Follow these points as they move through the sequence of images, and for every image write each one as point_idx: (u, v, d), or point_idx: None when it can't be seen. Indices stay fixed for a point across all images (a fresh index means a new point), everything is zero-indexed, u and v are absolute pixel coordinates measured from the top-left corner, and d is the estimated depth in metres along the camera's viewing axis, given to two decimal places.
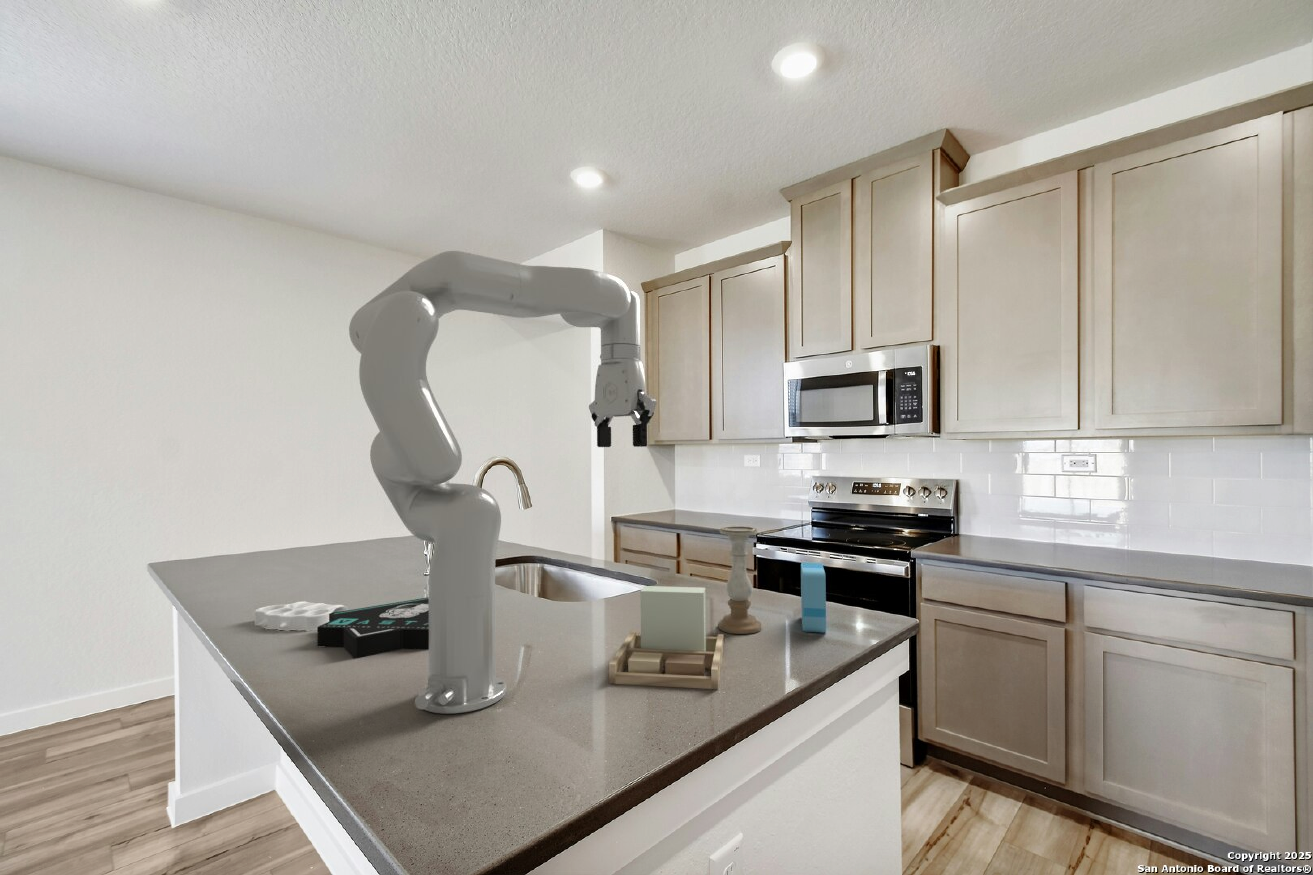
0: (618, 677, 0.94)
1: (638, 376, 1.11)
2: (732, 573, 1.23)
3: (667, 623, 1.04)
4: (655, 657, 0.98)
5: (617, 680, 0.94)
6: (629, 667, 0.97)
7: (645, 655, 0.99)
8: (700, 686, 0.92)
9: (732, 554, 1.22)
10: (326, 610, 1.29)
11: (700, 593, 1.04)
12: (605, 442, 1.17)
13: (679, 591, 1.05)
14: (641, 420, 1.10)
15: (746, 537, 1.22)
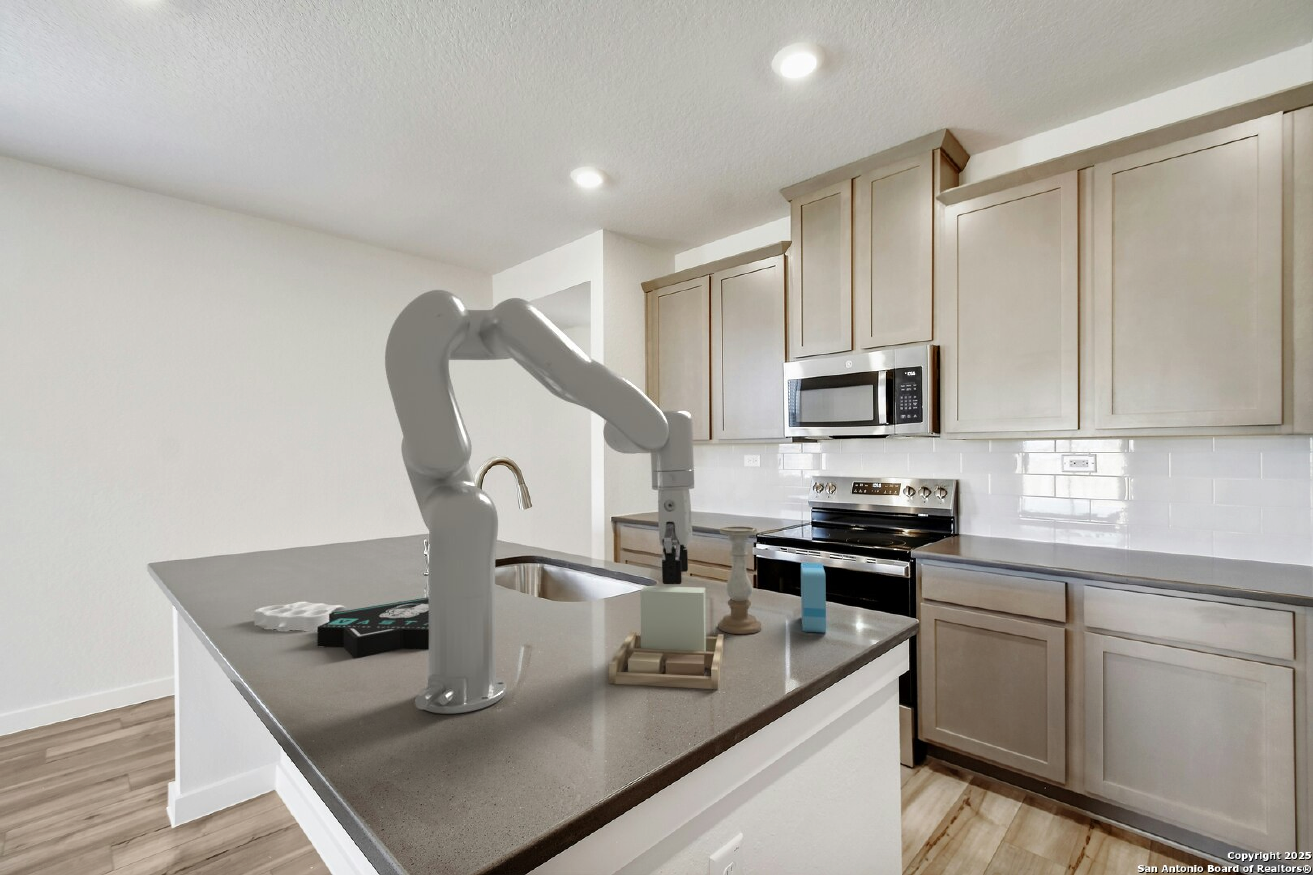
0: (618, 677, 0.94)
1: None
2: (732, 573, 1.23)
3: (667, 623, 1.04)
4: (655, 657, 0.98)
5: (617, 680, 0.94)
6: (629, 667, 0.97)
7: (645, 655, 0.99)
8: (700, 686, 0.92)
9: (732, 554, 1.22)
10: (325, 610, 1.29)
11: (700, 593, 1.04)
12: None
13: (679, 591, 1.05)
14: None
15: (746, 537, 1.22)
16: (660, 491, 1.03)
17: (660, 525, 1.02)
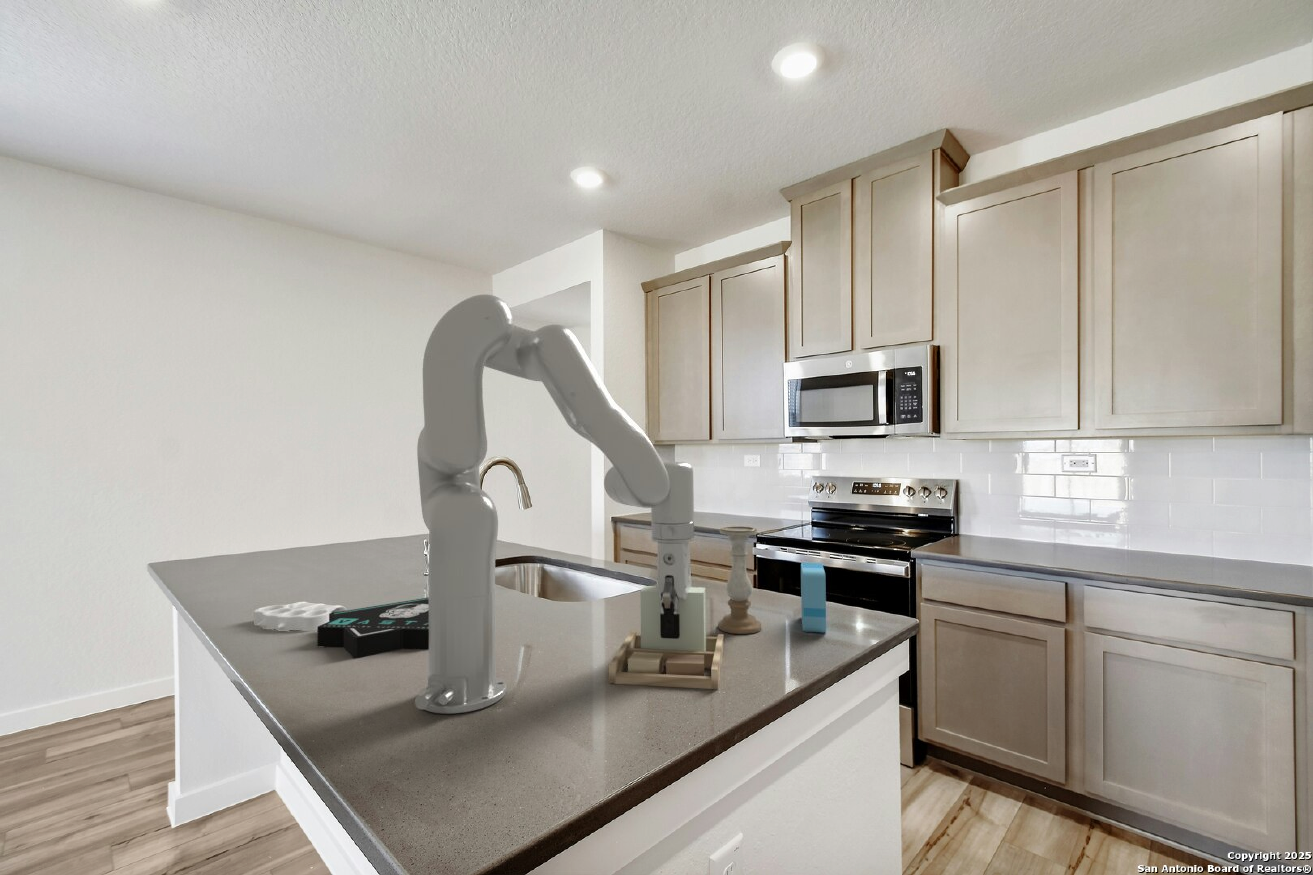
0: (618, 677, 0.94)
1: None
2: (732, 573, 1.23)
3: None
4: (655, 657, 0.98)
5: (617, 680, 0.94)
6: (629, 667, 0.97)
7: (645, 655, 0.99)
8: (700, 686, 0.92)
9: (732, 554, 1.22)
10: (324, 611, 1.29)
11: (700, 593, 1.04)
12: None
13: None
14: None
15: (746, 537, 1.22)
16: (660, 544, 1.03)
17: (659, 578, 1.02)
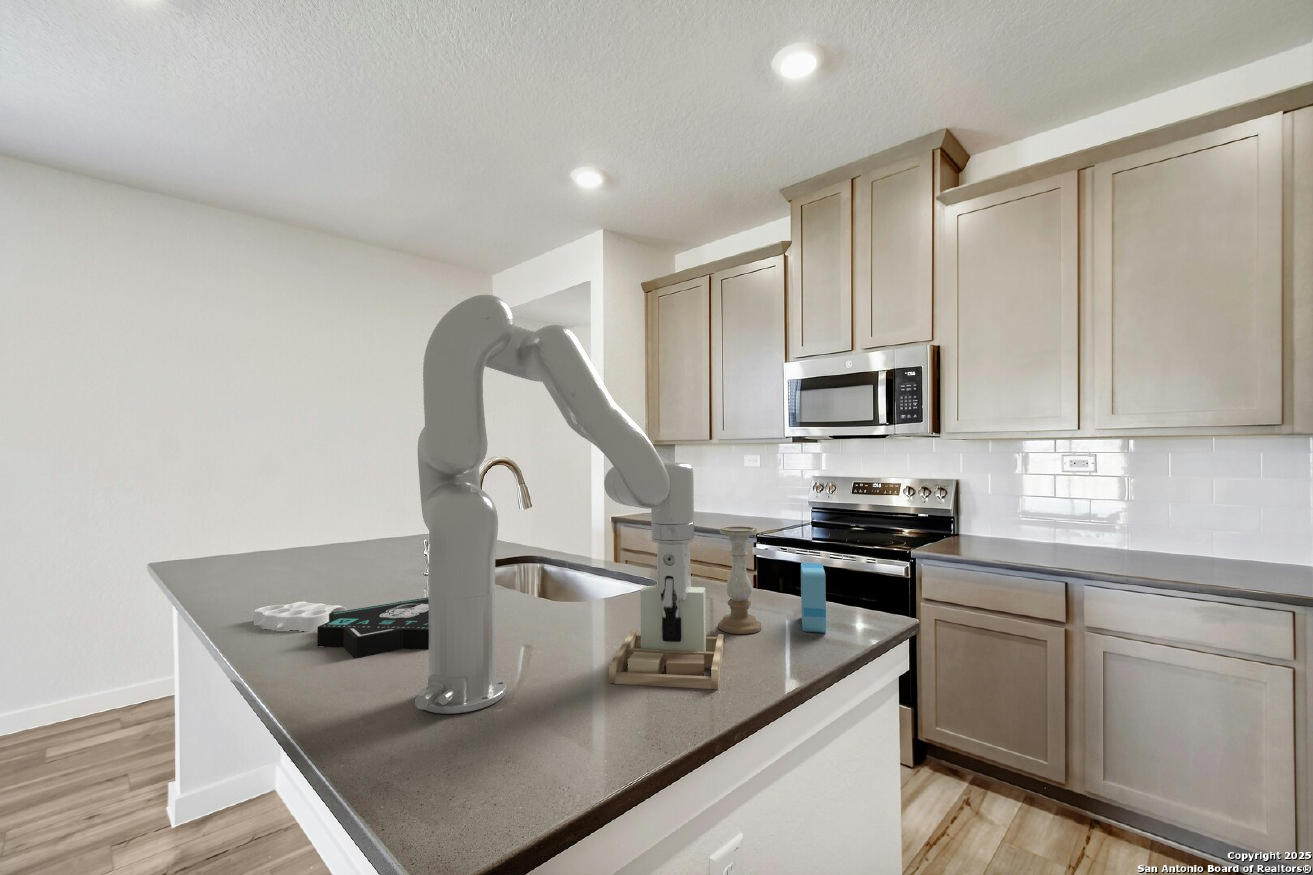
0: (618, 677, 0.94)
1: None
2: (732, 573, 1.23)
3: None
4: (655, 657, 0.98)
5: (617, 680, 0.94)
6: (629, 667, 0.97)
7: (645, 655, 0.99)
8: (700, 686, 0.92)
9: (732, 554, 1.22)
10: (323, 611, 1.29)
11: (700, 593, 1.04)
12: None
13: None
14: None
15: (746, 537, 1.22)
16: (660, 544, 1.03)
17: (659, 579, 1.02)
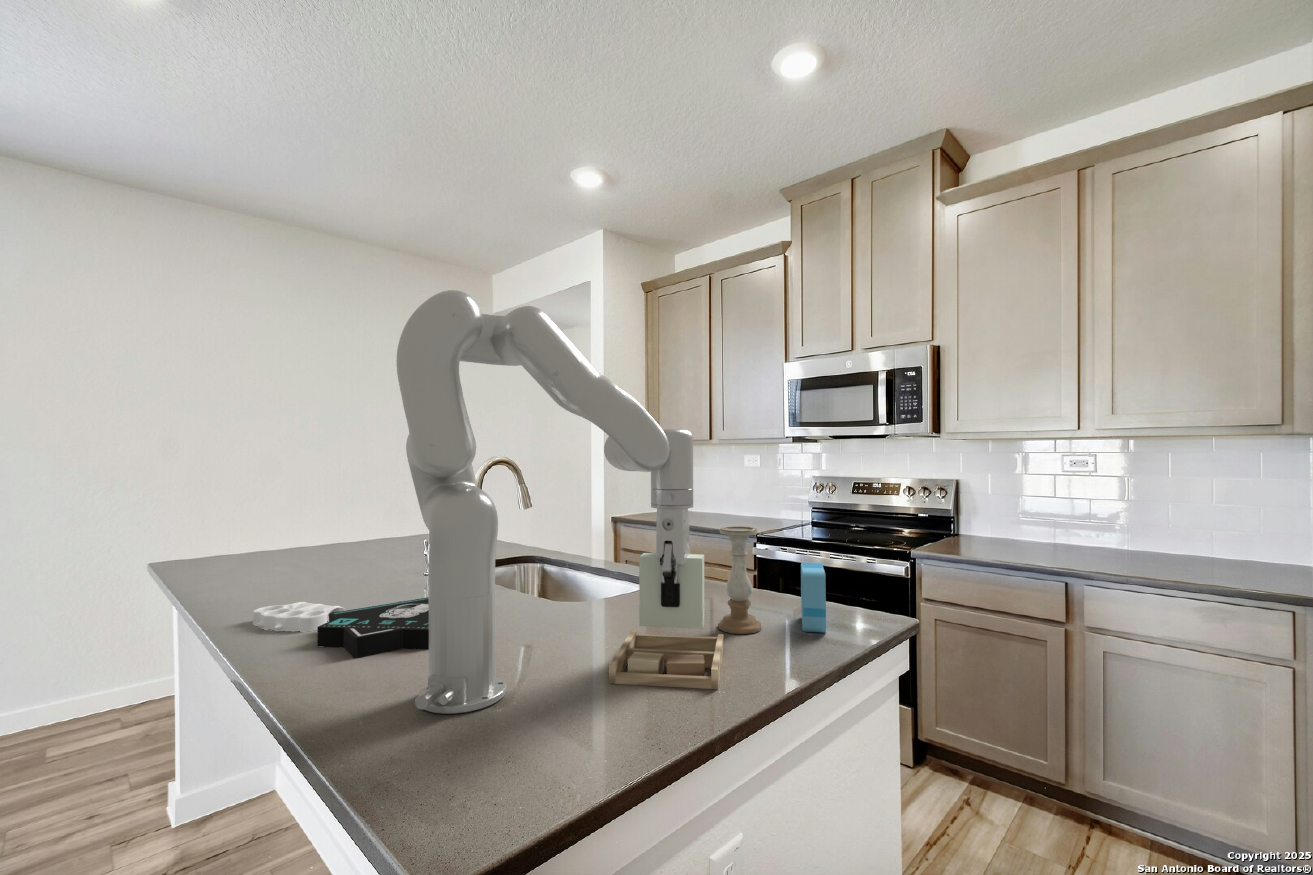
0: (618, 677, 0.94)
1: None
2: (732, 573, 1.23)
3: None
4: (655, 657, 0.98)
5: (617, 680, 0.94)
6: (628, 667, 0.97)
7: (645, 655, 0.99)
8: (700, 686, 0.92)
9: (732, 554, 1.22)
10: (322, 611, 1.28)
11: (699, 559, 1.04)
12: None
13: None
14: None
15: (746, 537, 1.22)
16: (659, 509, 1.03)
17: (658, 544, 1.02)
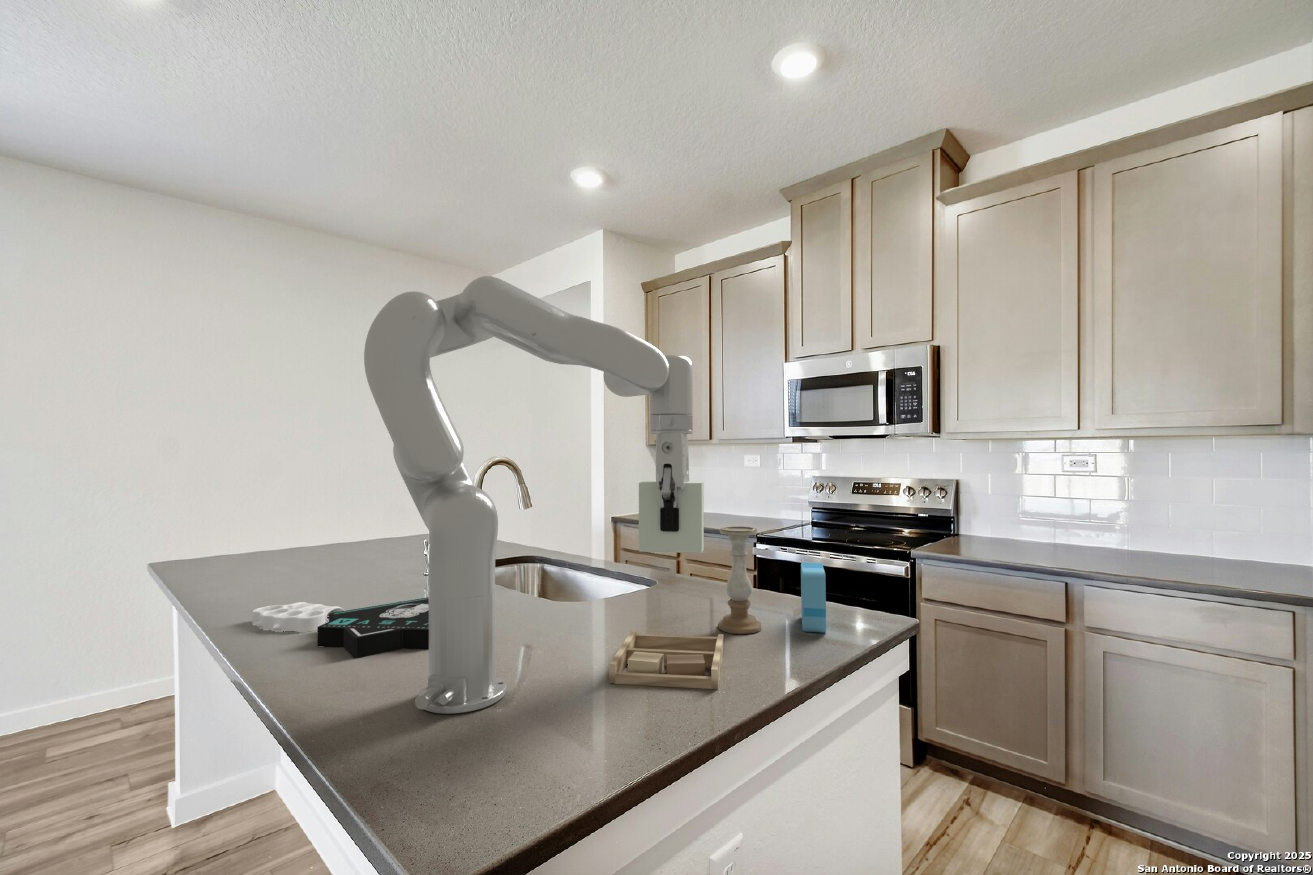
0: (618, 677, 0.94)
1: None
2: (732, 573, 1.23)
3: None
4: (655, 657, 0.98)
5: (617, 680, 0.94)
6: (628, 666, 0.97)
7: (645, 655, 0.99)
8: (700, 686, 0.92)
9: (732, 554, 1.22)
10: (321, 612, 1.28)
11: (698, 483, 1.04)
12: None
13: None
14: None
15: (746, 537, 1.22)
16: (658, 434, 1.03)
17: (657, 467, 1.02)
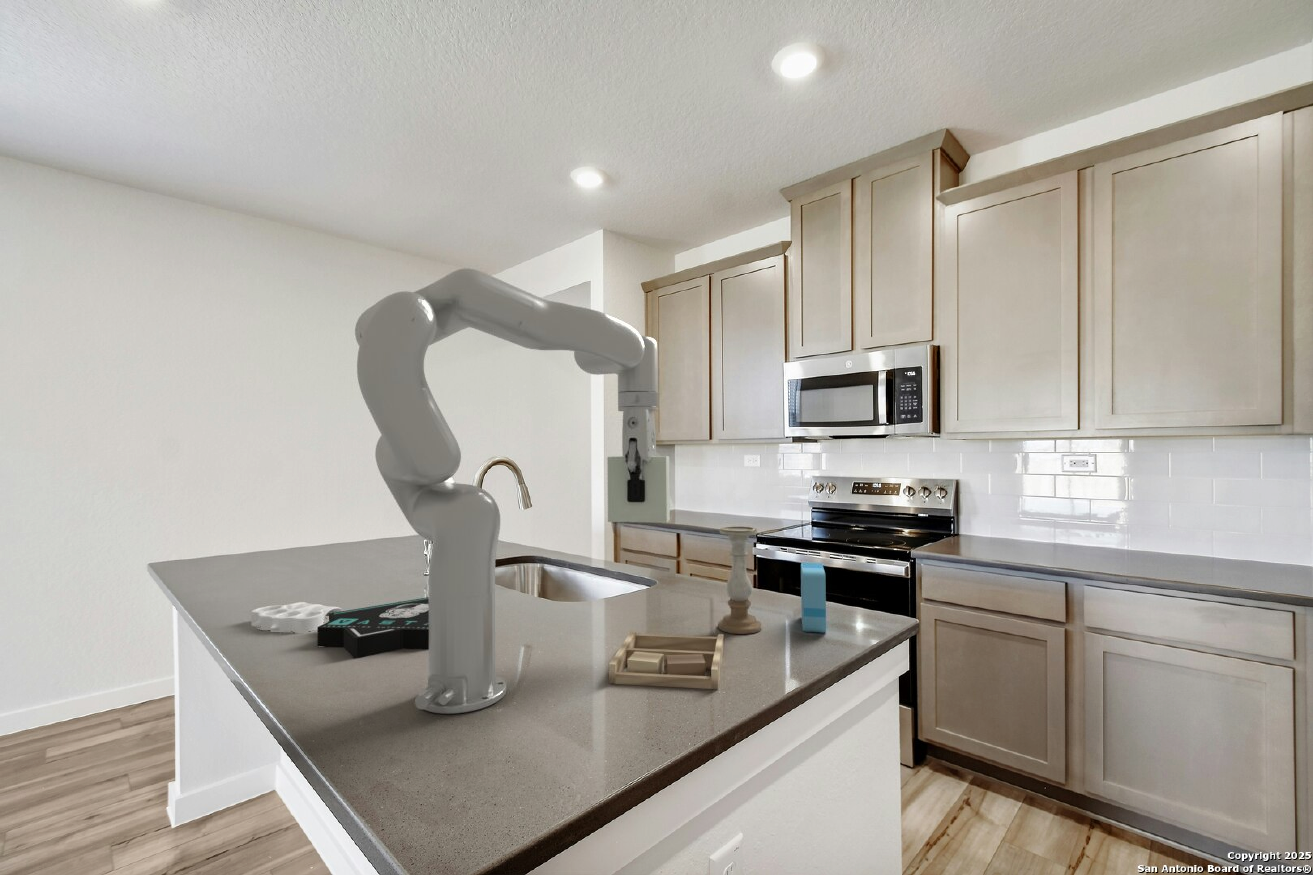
0: (618, 677, 0.94)
1: None
2: (732, 573, 1.23)
3: None
4: (655, 657, 0.98)
5: (617, 680, 0.94)
6: (628, 666, 0.97)
7: (645, 655, 0.99)
8: (700, 686, 0.92)
9: (732, 554, 1.22)
10: (319, 612, 1.28)
11: (663, 457, 1.10)
12: None
13: None
14: None
15: (746, 537, 1.22)
16: (624, 410, 1.09)
17: (623, 441, 1.08)
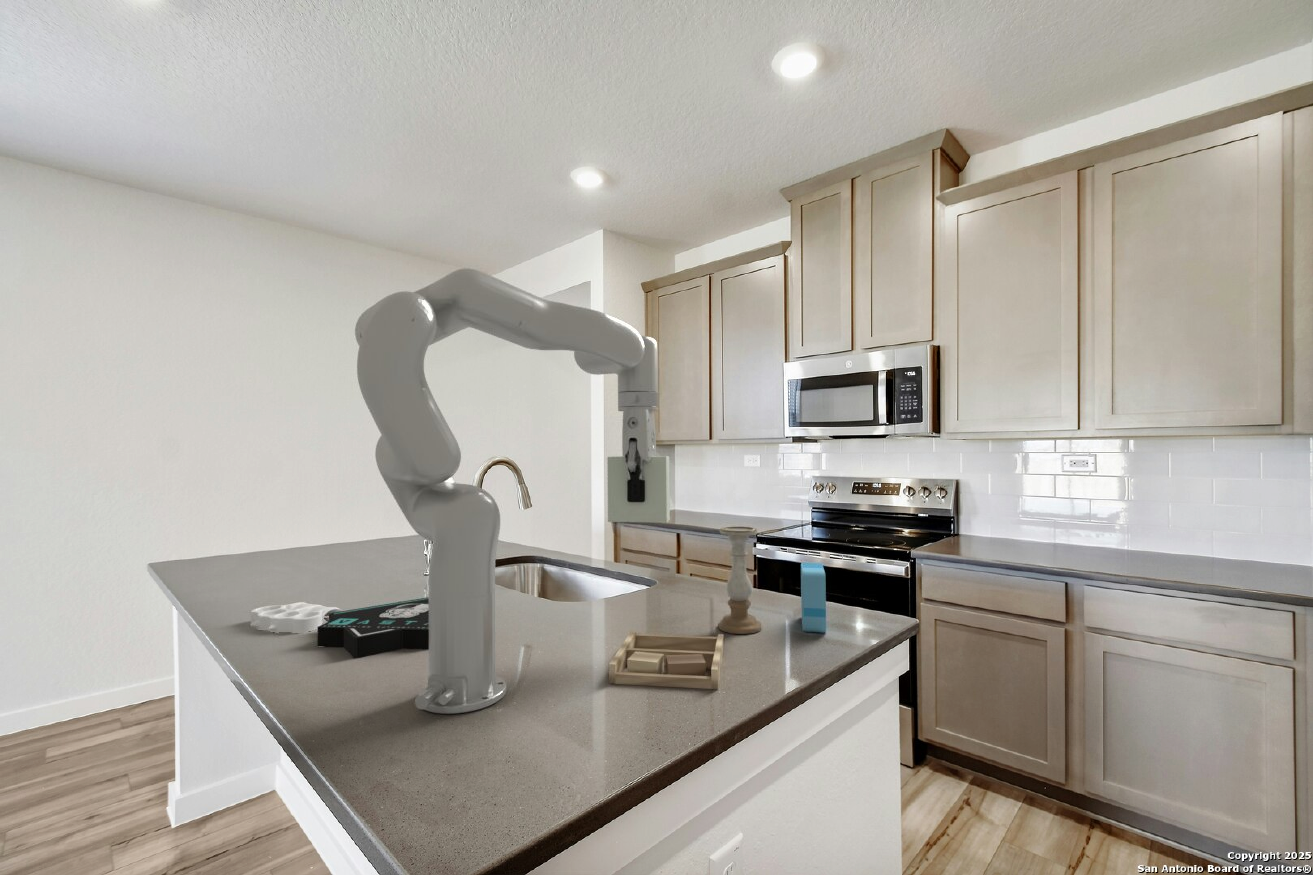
0: (618, 677, 0.94)
1: None
2: (732, 573, 1.23)
3: None
4: (655, 657, 0.98)
5: (617, 680, 0.94)
6: (628, 666, 0.97)
7: (645, 655, 0.99)
8: (700, 686, 0.92)
9: (732, 554, 1.22)
10: (317, 613, 1.27)
11: (663, 457, 1.10)
12: None
13: None
14: None
15: (746, 537, 1.22)
16: (624, 410, 1.09)
17: (623, 441, 1.08)
